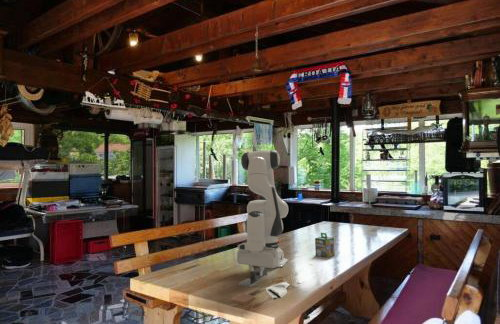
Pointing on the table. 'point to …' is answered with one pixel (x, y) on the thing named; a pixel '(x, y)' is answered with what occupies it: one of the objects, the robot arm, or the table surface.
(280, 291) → the cloth
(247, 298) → the tile
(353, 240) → the table surface
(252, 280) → the turner
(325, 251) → the chalk box
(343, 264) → the table surface
